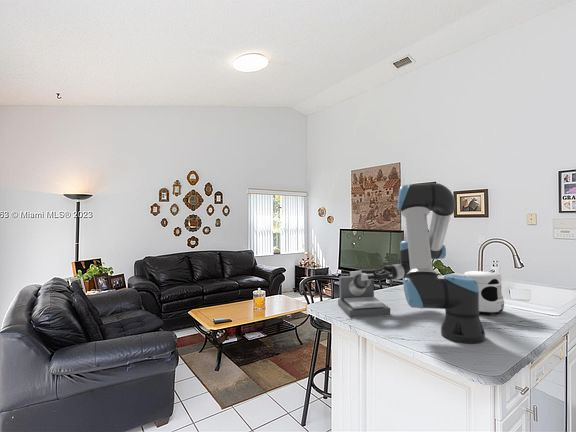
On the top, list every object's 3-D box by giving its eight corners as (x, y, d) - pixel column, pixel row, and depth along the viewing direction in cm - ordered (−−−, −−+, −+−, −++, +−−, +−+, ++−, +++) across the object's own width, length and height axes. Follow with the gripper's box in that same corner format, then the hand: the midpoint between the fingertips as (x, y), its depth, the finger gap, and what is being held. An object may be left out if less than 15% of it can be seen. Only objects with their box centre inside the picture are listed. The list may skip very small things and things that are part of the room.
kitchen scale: (390, 314, 156) (389, 283, 156) (349, 316, 155) (348, 285, 154) (373, 302, 178) (373, 275, 178) (338, 304, 176) (337, 276, 176)
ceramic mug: (372, 287, 166) (371, 271, 166) (368, 290, 159) (367, 274, 159) (351, 285, 171) (351, 271, 171) (347, 288, 164) (346, 273, 164)
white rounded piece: (458, 305, 168) (457, 270, 169) (495, 306, 165) (494, 271, 165) (469, 315, 152) (468, 276, 152) (511, 317, 148) (510, 277, 148)
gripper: (407, 283, 160) (369, 288, 152) (380, 275, 181) (344, 279, 173) (407, 268, 160) (368, 272, 152) (379, 262, 181) (344, 265, 173)
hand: (355, 276), depth 162 cm, fingers closed on ceramic mug, 10 cm apart
